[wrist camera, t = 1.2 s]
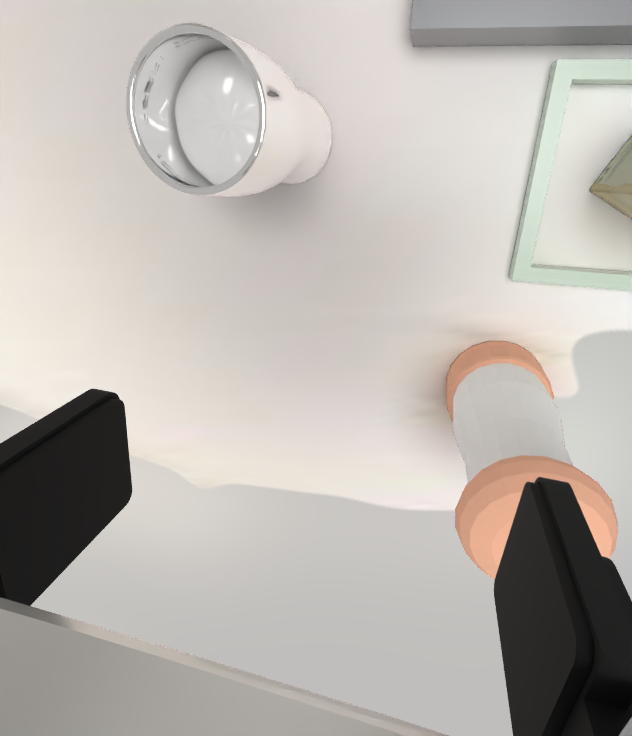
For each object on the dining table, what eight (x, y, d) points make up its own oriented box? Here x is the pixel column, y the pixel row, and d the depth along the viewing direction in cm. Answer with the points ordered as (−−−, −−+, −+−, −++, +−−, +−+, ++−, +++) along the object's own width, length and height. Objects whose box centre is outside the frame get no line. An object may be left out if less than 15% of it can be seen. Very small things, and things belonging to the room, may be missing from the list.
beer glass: (299, 58, 31) (197, -29, 18) (357, 148, 33) (303, 129, 19) (227, 129, 34) (92, 99, 21) (283, 209, 36) (190, 231, 22)
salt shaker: (426, 383, 38) (419, 556, 21) (496, 321, 35) (555, 464, 18) (491, 440, 39) (535, 654, 21) (565, 384, 36) (687, 581, 18)
